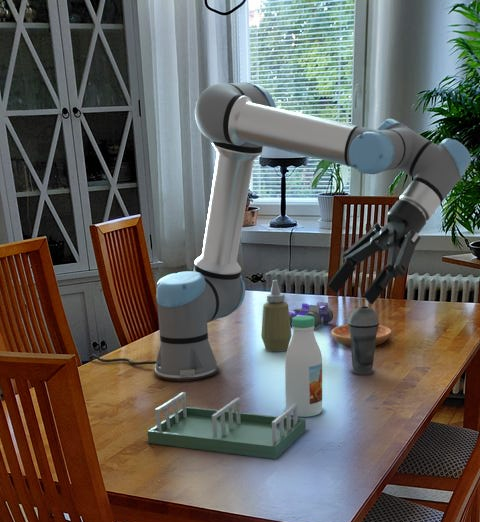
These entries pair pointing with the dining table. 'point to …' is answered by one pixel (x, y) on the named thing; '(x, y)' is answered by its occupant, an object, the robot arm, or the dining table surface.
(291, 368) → the milk bottle
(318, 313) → the toy race car
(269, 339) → the squeeze bottle
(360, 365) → the beverage cup
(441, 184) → the robot arm
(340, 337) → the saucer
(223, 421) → the drying rack
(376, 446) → the dining table surface
